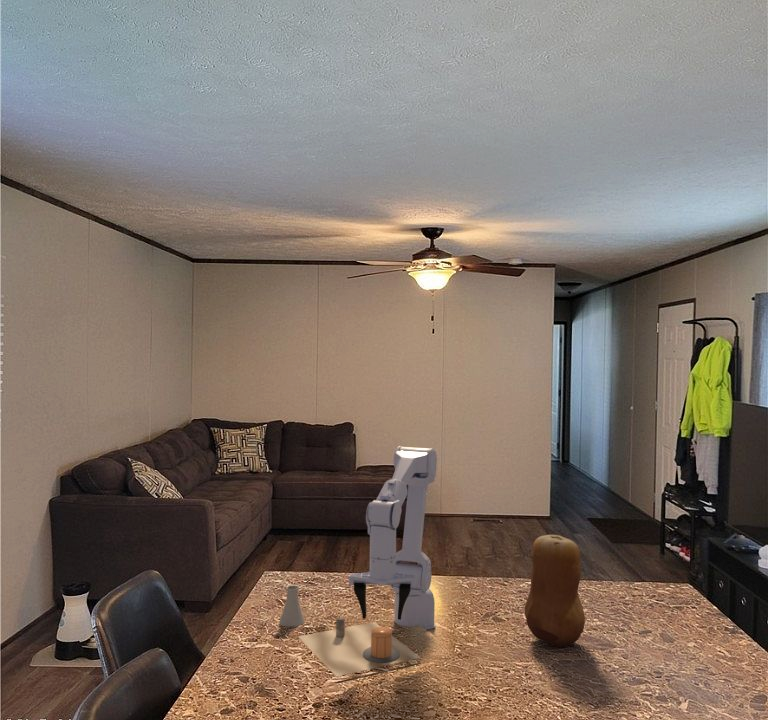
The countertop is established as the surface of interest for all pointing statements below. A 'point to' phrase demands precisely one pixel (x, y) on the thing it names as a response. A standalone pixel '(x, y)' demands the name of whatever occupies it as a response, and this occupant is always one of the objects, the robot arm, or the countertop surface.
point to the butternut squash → (555, 591)
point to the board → (353, 649)
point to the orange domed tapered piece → (381, 642)
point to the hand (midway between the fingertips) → (381, 617)
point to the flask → (292, 609)
